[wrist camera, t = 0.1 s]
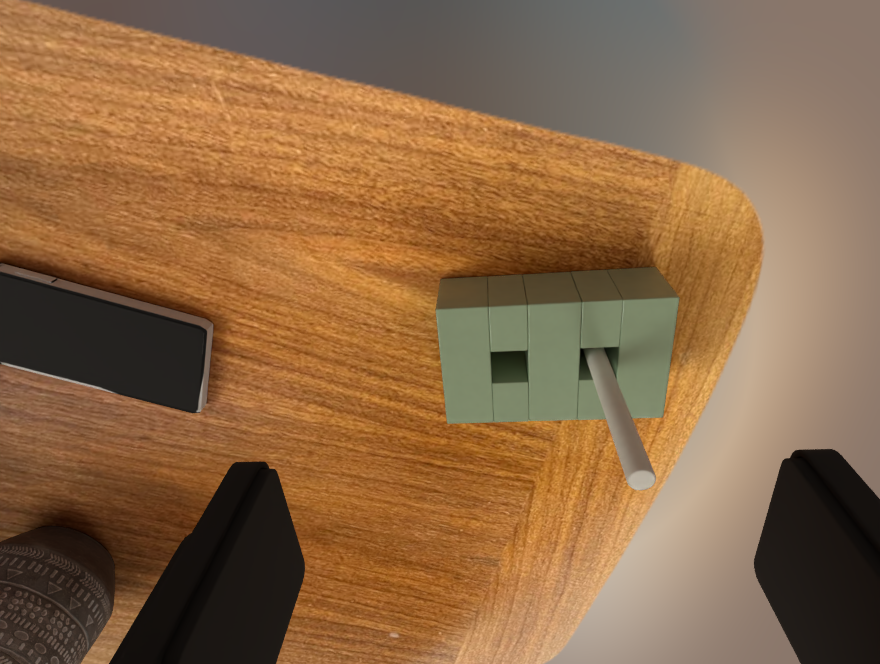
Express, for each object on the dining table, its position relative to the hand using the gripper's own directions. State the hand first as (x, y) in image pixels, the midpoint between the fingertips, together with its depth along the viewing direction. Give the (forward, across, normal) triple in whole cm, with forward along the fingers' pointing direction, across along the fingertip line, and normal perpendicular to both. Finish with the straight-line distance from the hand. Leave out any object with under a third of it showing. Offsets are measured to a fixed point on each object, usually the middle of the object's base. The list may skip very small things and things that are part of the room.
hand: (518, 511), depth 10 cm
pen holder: (+24, -3, +9) cm, 26 cm away
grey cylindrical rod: (+24, -6, +9) cm, 27 cm away
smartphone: (+24, +28, +8) cm, 38 cm away
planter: (+24, +41, +31) cm, 57 cm away
